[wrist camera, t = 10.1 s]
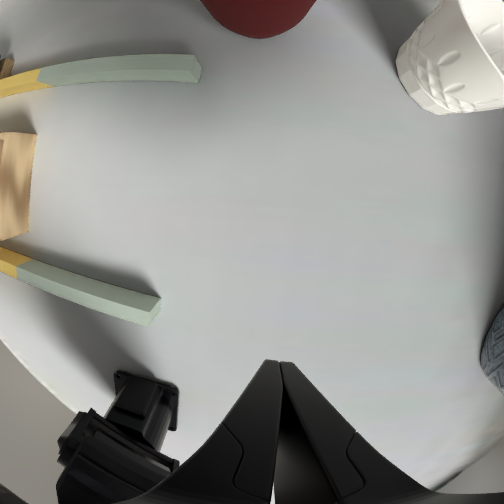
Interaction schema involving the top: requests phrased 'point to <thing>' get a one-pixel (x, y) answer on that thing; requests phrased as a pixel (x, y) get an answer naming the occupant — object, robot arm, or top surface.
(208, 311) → the top surface
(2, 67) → the winch
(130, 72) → the bay
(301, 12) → the mug
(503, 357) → the vase
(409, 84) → the white cup
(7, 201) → the box
